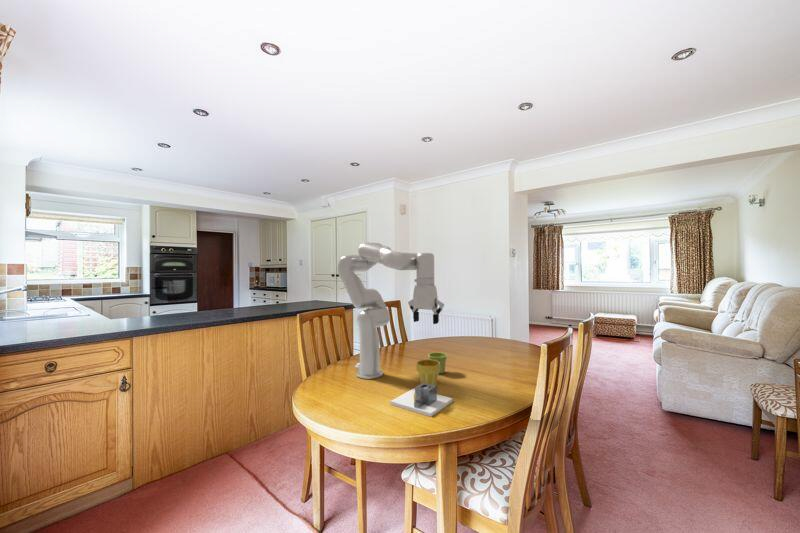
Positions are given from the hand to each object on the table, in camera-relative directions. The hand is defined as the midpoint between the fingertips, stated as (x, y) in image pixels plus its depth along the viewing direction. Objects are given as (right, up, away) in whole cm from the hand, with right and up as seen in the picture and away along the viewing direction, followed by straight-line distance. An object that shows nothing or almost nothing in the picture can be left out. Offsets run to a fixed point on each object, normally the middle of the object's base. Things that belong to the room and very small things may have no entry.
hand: (425, 322), depth 141 cm
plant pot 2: (+8, -28, +22) cm, 37 cm away
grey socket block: (-2, -27, -17) cm, 32 cm away
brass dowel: (-5, -27, -19) cm, 34 cm away
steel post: (-1, -27, -15) cm, 31 cm away
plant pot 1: (+2, -29, +5) cm, 29 cm away
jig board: (-3, -28, -14) cm, 32 cm away
